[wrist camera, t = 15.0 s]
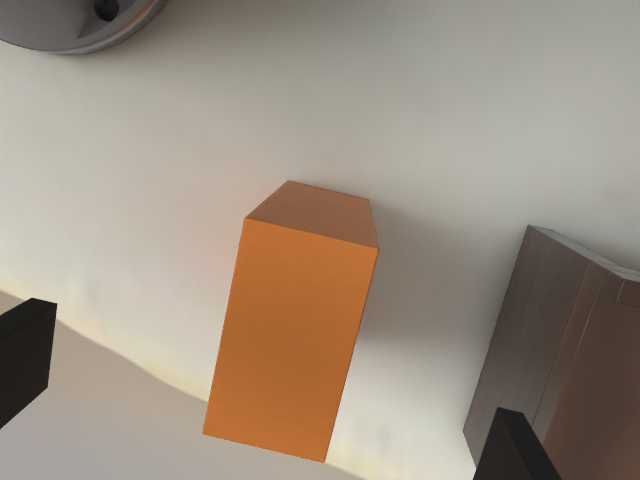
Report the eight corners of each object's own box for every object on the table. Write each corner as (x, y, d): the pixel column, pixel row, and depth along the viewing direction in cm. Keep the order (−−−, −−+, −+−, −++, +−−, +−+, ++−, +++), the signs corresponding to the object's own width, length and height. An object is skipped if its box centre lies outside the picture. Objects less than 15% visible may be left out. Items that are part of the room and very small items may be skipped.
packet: (258, 319, 34) (201, 434, 21) (287, 180, 32) (244, 216, 19) (335, 337, 34) (324, 463, 21) (368, 199, 32) (379, 248, 19)
